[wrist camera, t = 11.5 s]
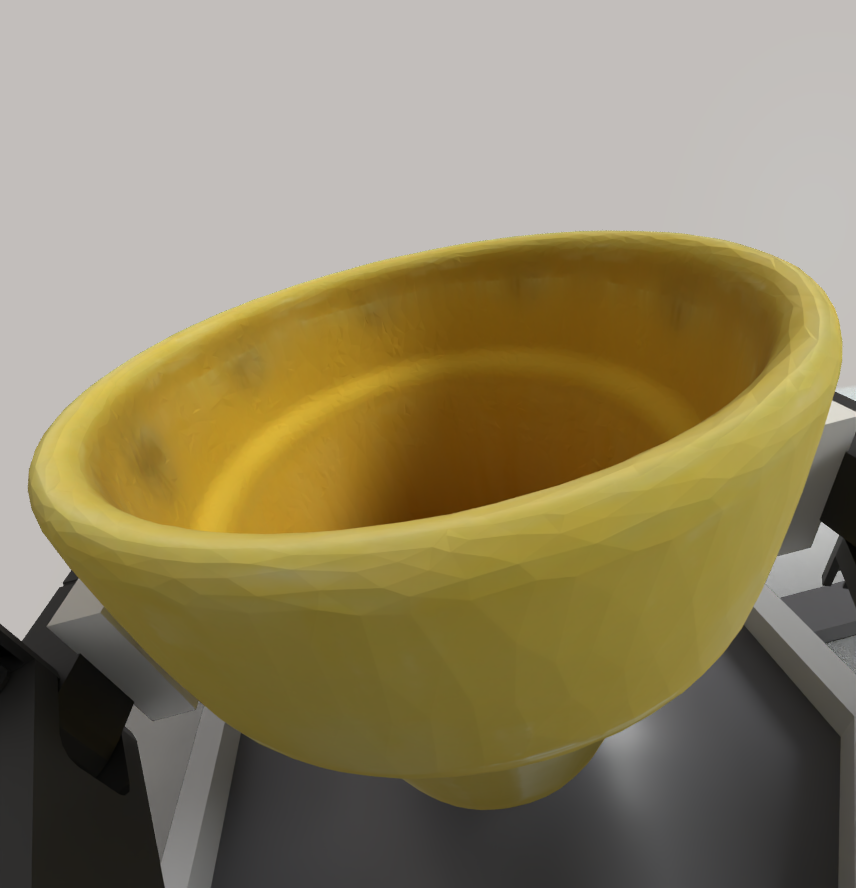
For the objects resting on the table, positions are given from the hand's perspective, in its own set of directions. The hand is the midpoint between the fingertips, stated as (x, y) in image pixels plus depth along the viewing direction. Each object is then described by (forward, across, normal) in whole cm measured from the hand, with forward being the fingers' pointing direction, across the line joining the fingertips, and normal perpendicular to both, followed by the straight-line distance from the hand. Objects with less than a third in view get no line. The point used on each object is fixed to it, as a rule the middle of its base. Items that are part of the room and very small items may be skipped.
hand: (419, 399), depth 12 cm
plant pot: (-4, 0, -6) cm, 8 cm away
